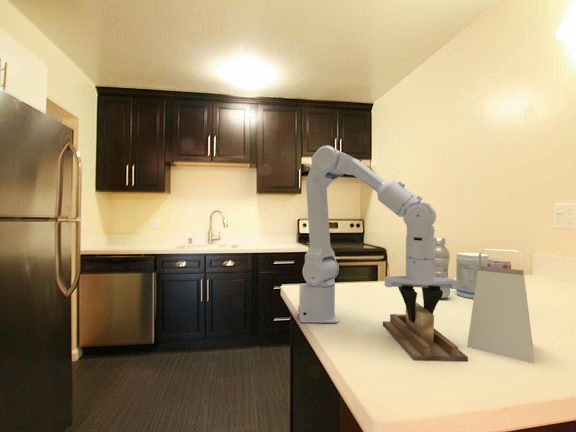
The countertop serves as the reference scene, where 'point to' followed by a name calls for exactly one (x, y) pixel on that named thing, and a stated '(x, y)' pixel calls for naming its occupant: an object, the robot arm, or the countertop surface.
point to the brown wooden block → (422, 324)
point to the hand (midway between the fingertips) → (419, 320)
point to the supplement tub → (468, 272)
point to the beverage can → (499, 263)
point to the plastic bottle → (442, 263)
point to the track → (422, 342)
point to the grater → (501, 313)
